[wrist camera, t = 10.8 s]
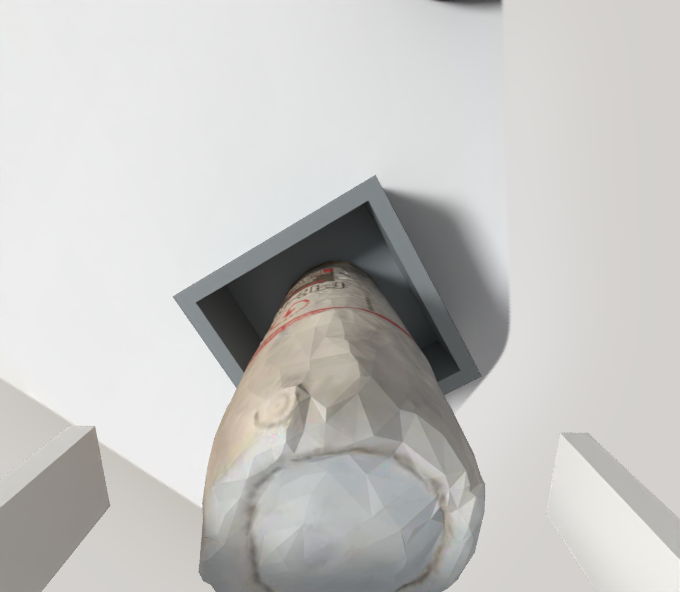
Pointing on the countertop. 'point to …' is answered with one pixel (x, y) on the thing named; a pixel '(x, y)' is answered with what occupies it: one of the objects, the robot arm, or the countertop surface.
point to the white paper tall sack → (339, 456)
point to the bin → (314, 249)
